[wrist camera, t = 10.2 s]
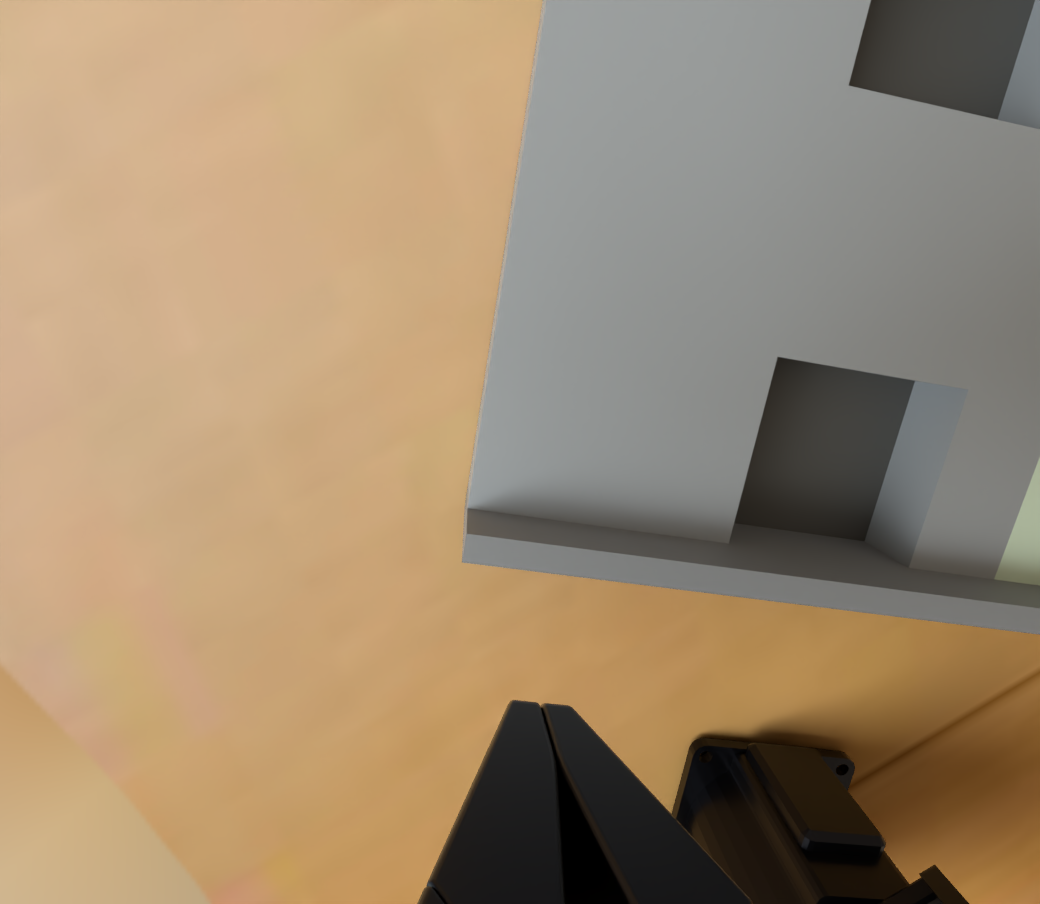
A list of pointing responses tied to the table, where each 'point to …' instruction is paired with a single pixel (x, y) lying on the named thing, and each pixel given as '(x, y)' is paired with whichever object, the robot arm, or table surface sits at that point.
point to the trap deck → (774, 307)
